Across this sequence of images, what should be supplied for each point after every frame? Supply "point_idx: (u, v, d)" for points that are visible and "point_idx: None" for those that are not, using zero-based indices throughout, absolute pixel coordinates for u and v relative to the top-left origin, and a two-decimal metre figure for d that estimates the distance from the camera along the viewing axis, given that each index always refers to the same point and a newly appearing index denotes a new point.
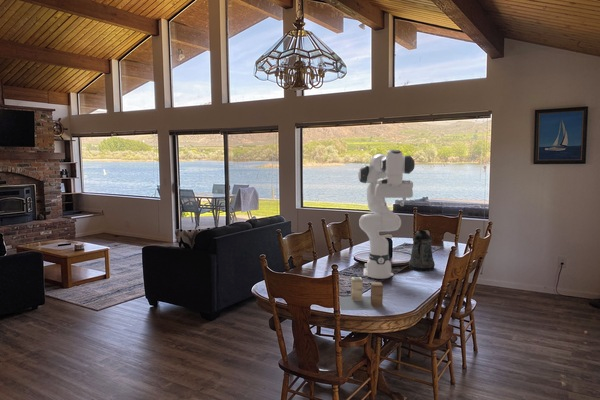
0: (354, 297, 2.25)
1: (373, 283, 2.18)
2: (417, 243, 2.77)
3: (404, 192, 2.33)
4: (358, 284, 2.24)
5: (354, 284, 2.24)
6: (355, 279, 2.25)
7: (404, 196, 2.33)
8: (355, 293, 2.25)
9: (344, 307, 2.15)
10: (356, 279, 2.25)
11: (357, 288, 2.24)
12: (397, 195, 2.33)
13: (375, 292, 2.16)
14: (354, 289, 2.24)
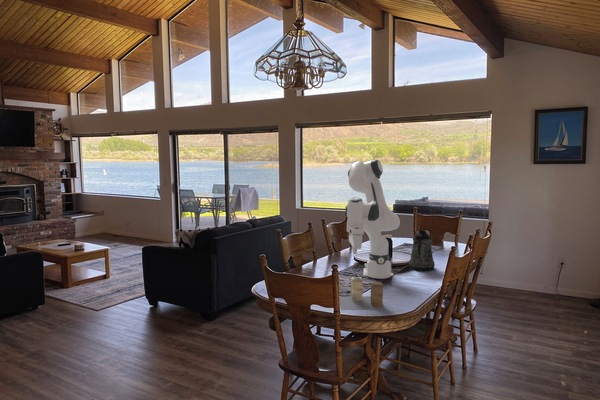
0: (354, 297, 2.25)
1: (373, 283, 2.18)
2: (417, 243, 2.77)
3: None
4: (358, 284, 2.24)
5: (354, 284, 2.24)
6: (355, 279, 2.25)
7: None
8: (355, 293, 2.25)
9: (344, 307, 2.15)
10: (356, 279, 2.25)
11: (357, 288, 2.24)
12: None
13: (375, 292, 2.16)
14: (354, 289, 2.24)
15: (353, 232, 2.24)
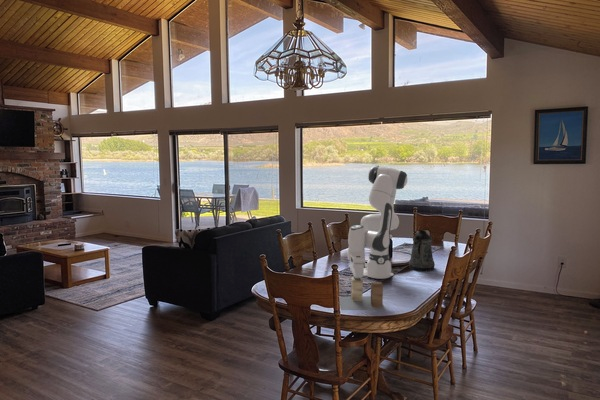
0: (354, 297, 2.25)
1: (373, 283, 2.18)
2: (417, 243, 2.77)
3: None
4: (358, 284, 2.23)
5: (354, 284, 2.23)
6: (355, 279, 2.24)
7: None
8: (355, 293, 2.24)
9: (344, 307, 2.15)
10: (356, 279, 2.24)
11: (357, 288, 2.24)
12: None
13: (375, 292, 2.16)
14: (354, 289, 2.24)
15: (354, 261, 2.20)
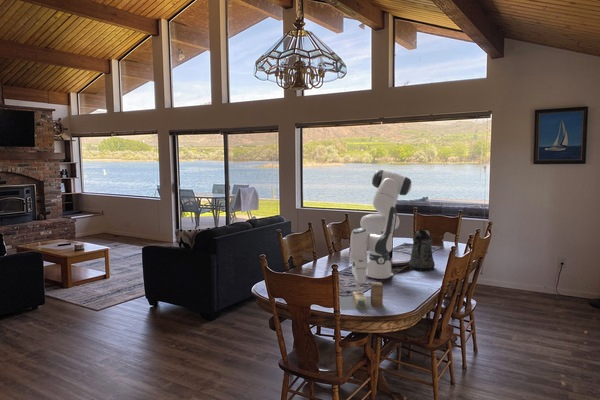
0: None
1: (373, 283, 2.18)
2: (417, 243, 2.77)
3: None
4: None
5: None
6: (359, 306, 2.14)
7: None
8: None
9: (344, 307, 2.15)
10: (360, 306, 2.14)
11: None
12: None
13: (375, 292, 2.16)
14: None
15: (357, 266, 2.13)
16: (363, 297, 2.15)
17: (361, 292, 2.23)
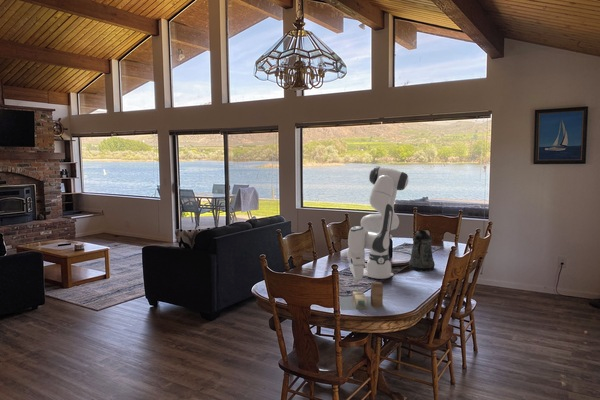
0: None
1: (373, 283, 2.18)
2: (417, 243, 2.77)
3: None
4: None
5: None
6: (359, 306, 2.14)
7: None
8: None
9: (344, 307, 2.15)
10: (360, 306, 2.14)
11: None
12: None
13: (375, 292, 2.16)
14: None
15: (354, 262, 2.20)
16: (363, 297, 2.15)
17: (361, 292, 2.23)
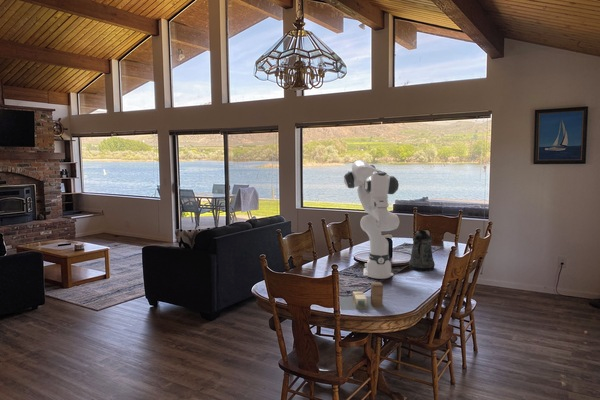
0: None
1: (373, 283, 2.18)
2: (417, 243, 2.77)
3: None
4: None
5: None
6: (359, 306, 2.14)
7: None
8: None
9: (344, 307, 2.15)
10: (360, 306, 2.14)
11: None
12: None
13: (375, 292, 2.16)
14: None
15: (378, 205, 2.24)
16: (363, 297, 2.15)
17: (361, 292, 2.23)
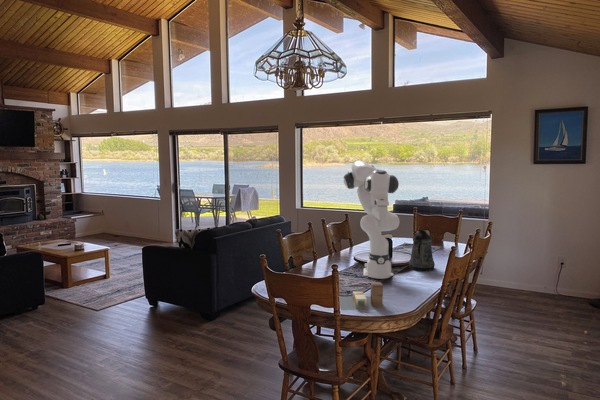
0: None
1: (373, 283, 2.18)
2: (417, 243, 2.77)
3: None
4: None
5: None
6: (359, 306, 2.14)
7: None
8: None
9: (344, 307, 2.15)
10: (360, 306, 2.14)
11: None
12: None
13: (375, 292, 2.16)
14: None
15: (378, 203, 2.24)
16: (363, 297, 2.15)
17: (361, 292, 2.23)
